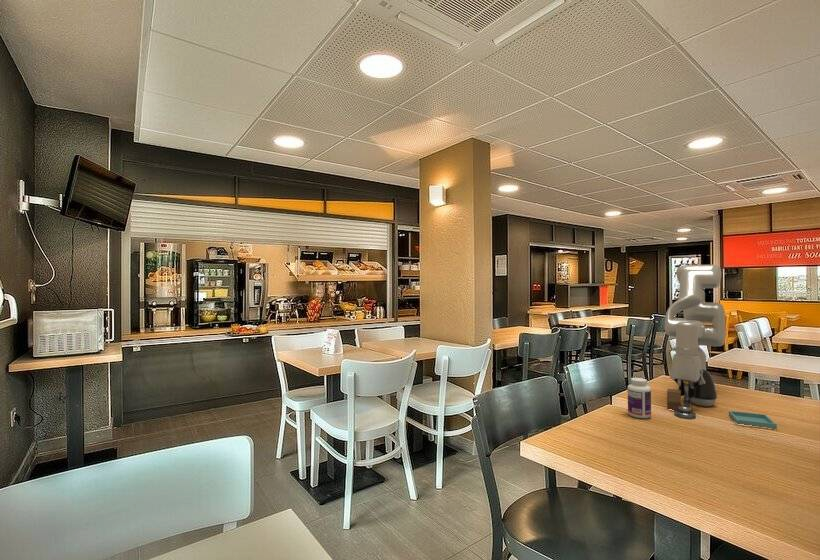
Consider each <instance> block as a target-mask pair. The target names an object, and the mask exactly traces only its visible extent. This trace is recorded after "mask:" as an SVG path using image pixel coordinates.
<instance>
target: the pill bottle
mask: <svg viewBox="0 0 820 560" xmlns="http://www.w3.org/2000/svg"><path fill="white" fill-rule="evenodd" d="M630 382H631V383H630V384H628V385H627V413H628V415H629V416H631V417H633V418H637V419H649V418H651V417H652V390H651V389H652V388H651V387H650V386H649V385H647V384H648V380H647V379H645V378H642V377H631V378H630Z"/></svg>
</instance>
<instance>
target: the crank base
mask: <svg viewBox="0 0 820 560" xmlns="http://www.w3.org/2000/svg"><path fill="white" fill-rule="evenodd" d="M673 415H674V416H675V417H677V418H680V419H684V420H686V419H687V420H694V419H696V417H697V415H696V412H694V411H692V410H691V413H683V412H680V411H679V409H677V410H674V411H673Z"/></svg>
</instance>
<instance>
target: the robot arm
mask: <svg viewBox="0 0 820 560" xmlns="http://www.w3.org/2000/svg"><path fill="white" fill-rule="evenodd" d="M675 272H676V274H675V275H676V278H677V281H678V283H679V291H678V292H679V293H678V299H677V300H676V301H674V302H673V303H672V304H671V305H670V306H669V307H668V308H667V311H666V313H665V318H664V331H665V334H666V335H667V336H668V337H673V338H675V347H672V351H673V352H675V353H673V356H672V360H671V369H670V375H669V379H671V380H673V381H674V382H675V383H676V384H677V390H681V397H684V388H683V380H687V381H690V388H689V398H693V397H694V396H695V388H696V387H697V386H699V385H702V384H705V380H704V379H703V377H702V369H704V370H706V371H707V354H706V352H705V351H704V350H703V349H702V348H701V347H700V346H706V347H722V346H724V344H725V340H726V312H725V308H724V306H723V305H722V304H721V303H719V302H712V301H711V302H706V300H705V299H706V293H705V290H704V289H717V288H718V287H719V286H720V284H721V280H722V269H721V267H720V265H718V264H685V265H680V266H678V267H677V268H676V271H675ZM682 311H683V312H682ZM680 312H682V313H683V318H684V319H674V317H675V316H676V315H677V314H679V313H680ZM704 323H710V324H712V325H706V324H705V325H704ZM698 380H700V381H699V382H696V381H698Z"/></svg>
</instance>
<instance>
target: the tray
mask: <svg viewBox="0 0 820 560" xmlns="http://www.w3.org/2000/svg"><path fill="white" fill-rule="evenodd" d="M729 416H730V417H731V418H732V419H733V420H734V421H735V422H736V423H737V424H744V425H752V426H759V427H767V428H772V429H778V424H777V423H776V422H775V421H773V419H772V418H770V417H769V416H768V415H767V414H764V413H755V412H746V411H736V410H728V417H729ZM730 417H729V418H730ZM731 418H730V419H731ZM732 419H731V420H732ZM733 420H732V421H733ZM734 421H733V422H734Z"/></svg>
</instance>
